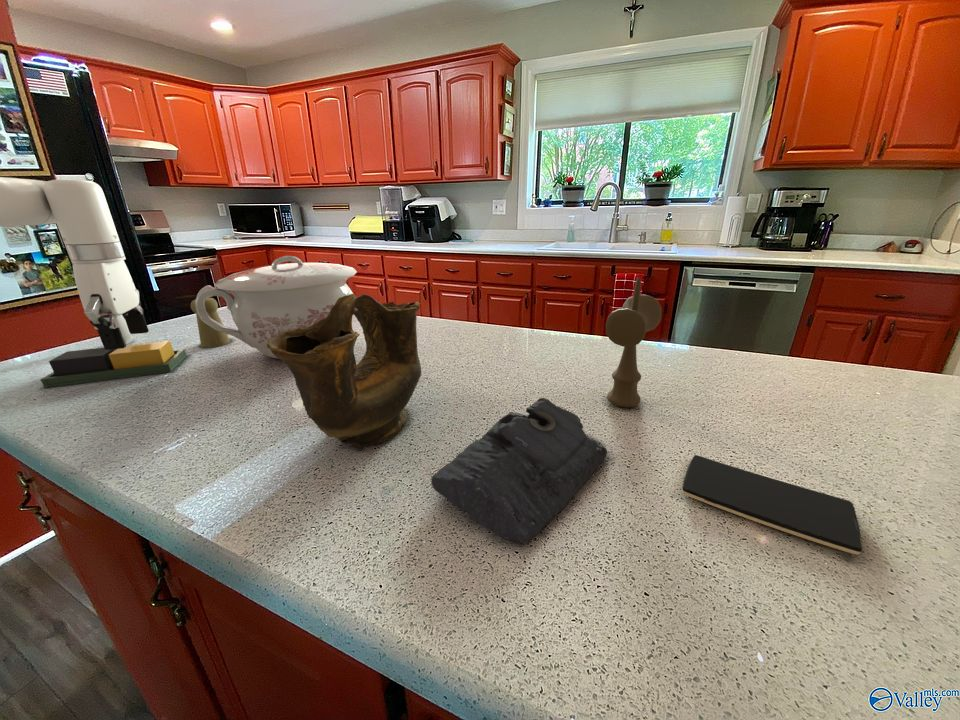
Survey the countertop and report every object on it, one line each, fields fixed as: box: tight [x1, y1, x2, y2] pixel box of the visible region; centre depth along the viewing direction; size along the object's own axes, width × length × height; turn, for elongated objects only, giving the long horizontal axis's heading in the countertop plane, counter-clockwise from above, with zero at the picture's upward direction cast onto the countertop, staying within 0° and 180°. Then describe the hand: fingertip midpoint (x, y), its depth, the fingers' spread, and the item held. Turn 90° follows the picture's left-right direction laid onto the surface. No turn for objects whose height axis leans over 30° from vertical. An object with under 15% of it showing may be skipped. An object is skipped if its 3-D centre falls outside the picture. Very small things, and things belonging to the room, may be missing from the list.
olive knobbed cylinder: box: [190, 297, 231, 349], centre depth 93 cm, size 6×6×11 cm
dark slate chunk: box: [431, 397, 608, 545], centre depth 48 cm, size 15×22×5 cm
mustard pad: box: [109, 340, 175, 369], centre depth 81 cm, size 8×6×4 cm, turn 107°
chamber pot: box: [195, 255, 358, 359], centre depth 86 cm, size 28×28×21 cm
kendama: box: [605, 276, 663, 408], centre depth 60 cm, size 6×10×20 cm, turn 145°
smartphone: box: [681, 454, 863, 556], centre depth 42 cm, size 7×1×15 cm
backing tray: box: [40, 348, 188, 388], centre depth 81 cm, size 21×9×2 cm, turn 107°
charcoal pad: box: [48, 347, 117, 376], centre depth 79 cm, size 8×6×4 cm, turn 107°
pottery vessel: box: [267, 293, 422, 447], centre depth 55 cm, size 25×11×20 cm, turn 159°
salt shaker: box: [105, 314, 134, 345], centre depth 95 cm, size 6×6×13 cm
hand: (128, 340), depth 80 cm, fingers open, 9 cm apart
